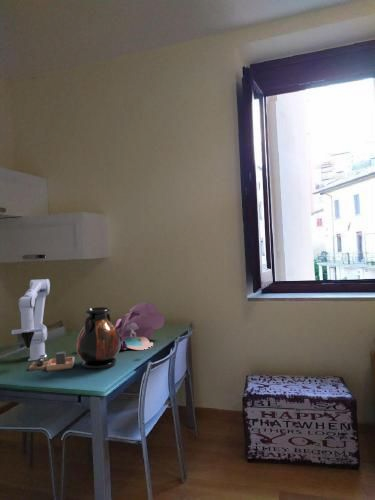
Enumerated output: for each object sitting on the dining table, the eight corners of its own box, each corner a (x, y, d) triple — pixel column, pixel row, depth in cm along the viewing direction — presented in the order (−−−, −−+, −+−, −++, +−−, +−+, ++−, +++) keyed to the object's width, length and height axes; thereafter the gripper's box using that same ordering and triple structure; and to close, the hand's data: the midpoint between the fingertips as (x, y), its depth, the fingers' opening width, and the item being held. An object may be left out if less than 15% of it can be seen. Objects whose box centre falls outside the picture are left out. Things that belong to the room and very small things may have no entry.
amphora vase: (94, 357, 187) (92, 305, 187) (129, 360, 179) (127, 306, 179) (67, 370, 167) (65, 312, 167) (105, 374, 159) (102, 313, 159)
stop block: (57, 364, 175) (57, 352, 175) (65, 363, 176) (65, 351, 176) (56, 366, 172) (55, 354, 172) (64, 365, 172) (64, 353, 172)
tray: (50, 363, 178) (50, 358, 178) (74, 361, 181) (74, 356, 181) (46, 371, 167) (46, 365, 167) (71, 368, 169) (71, 363, 169)
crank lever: (40, 360, 182) (40, 353, 182) (47, 359, 183) (47, 352, 183) (35, 367, 170) (35, 360, 170) (43, 366, 171) (43, 359, 171)
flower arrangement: (139, 363, 188) (144, 314, 184) (101, 353, 195) (105, 305, 191) (162, 341, 222) (167, 298, 217) (129, 332, 228) (133, 291, 224)
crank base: (33, 363, 180) (33, 361, 180) (49, 361, 182) (49, 359, 182) (28, 370, 169) (27, 368, 169) (45, 368, 170) (45, 366, 170)
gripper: (9, 323, 170) (10, 350, 170) (41, 320, 173) (42, 347, 173) (13, 320, 177) (14, 347, 176) (43, 318, 180) (44, 344, 179)
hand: (28, 347), depth 175 cm, fingers closed
